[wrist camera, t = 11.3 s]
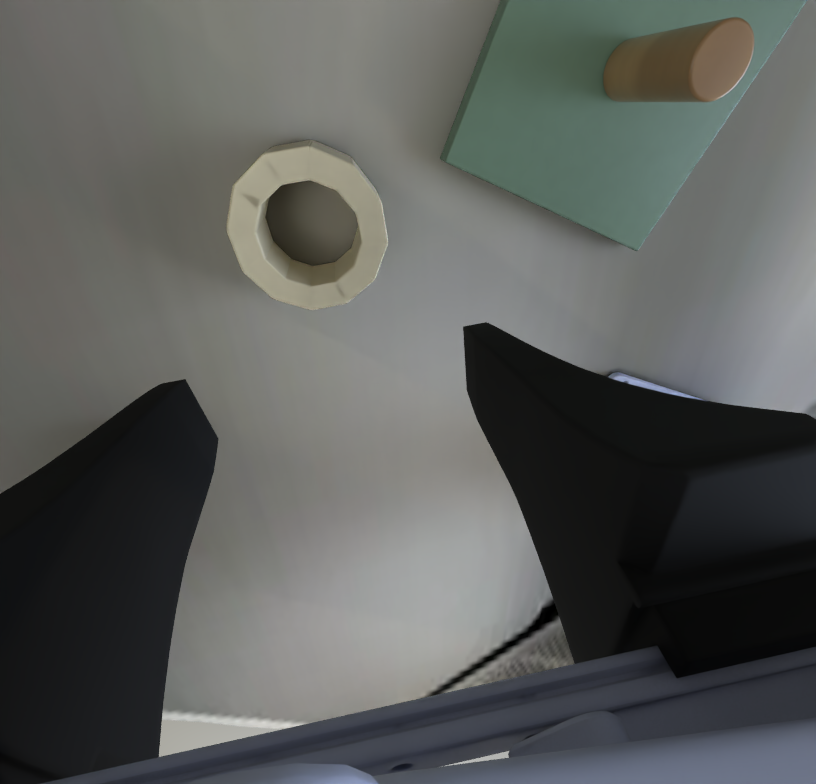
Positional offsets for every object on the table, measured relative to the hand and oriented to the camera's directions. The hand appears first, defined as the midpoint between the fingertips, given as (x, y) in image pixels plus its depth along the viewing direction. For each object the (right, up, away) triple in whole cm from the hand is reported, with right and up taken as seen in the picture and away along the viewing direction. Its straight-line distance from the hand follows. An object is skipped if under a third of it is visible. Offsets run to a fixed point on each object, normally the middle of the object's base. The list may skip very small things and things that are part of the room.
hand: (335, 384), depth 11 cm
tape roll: (-2, +7, +6) cm, 9 cm away
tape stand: (+10, +12, +5) cm, 16 cm away
